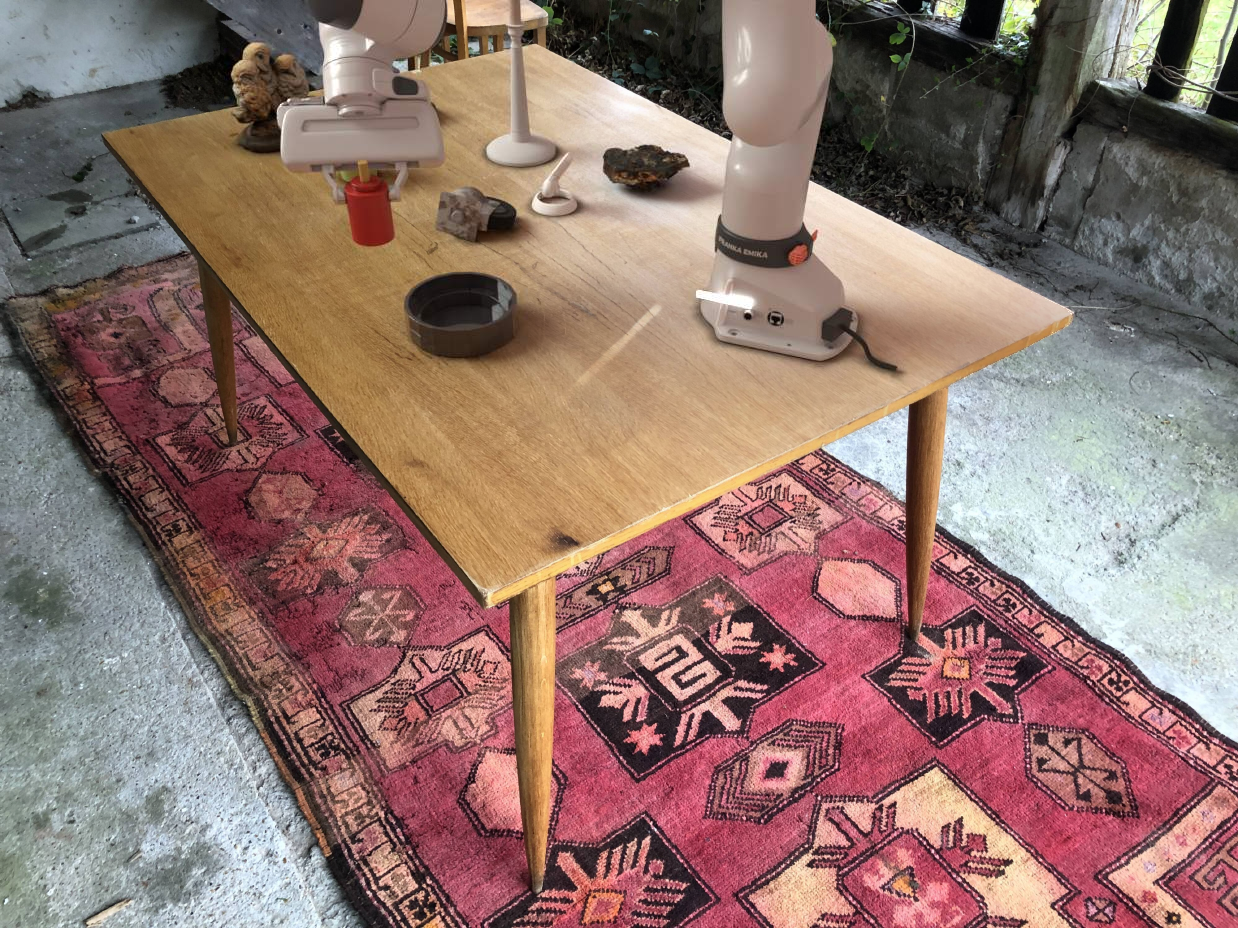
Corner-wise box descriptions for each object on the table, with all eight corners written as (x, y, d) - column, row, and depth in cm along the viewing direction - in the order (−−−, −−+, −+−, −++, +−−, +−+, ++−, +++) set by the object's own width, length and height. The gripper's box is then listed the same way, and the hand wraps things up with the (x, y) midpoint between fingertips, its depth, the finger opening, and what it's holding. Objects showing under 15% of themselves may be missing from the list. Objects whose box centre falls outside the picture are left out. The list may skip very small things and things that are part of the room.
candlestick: (553, 168, 177) (548, -10, 157) (482, 165, 177) (469, -12, 157) (557, 139, 187) (554, -31, 167) (491, 137, 187) (479, -34, 167)
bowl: (539, 321, 139) (538, 290, 135) (475, 374, 129) (472, 343, 125) (453, 291, 144) (450, 261, 141) (385, 340, 134) (380, 309, 131)
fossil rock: (625, 208, 165) (626, 175, 162) (592, 176, 175) (592, 144, 171) (696, 195, 170) (699, 163, 166) (660, 164, 179) (662, 133, 176)
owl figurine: (264, 161, 176) (243, 64, 165) (220, 145, 181) (196, 50, 170) (337, 129, 188) (321, 36, 177) (293, 115, 193) (275, 24, 181)
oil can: (403, 233, 128) (393, 159, 122) (376, 250, 125) (364, 175, 118) (371, 223, 130) (360, 149, 124) (343, 239, 127) (330, 164, 120)
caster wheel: (517, 232, 164) (500, 252, 155) (453, 211, 164) (433, 230, 155) (525, 194, 160) (509, 213, 152) (459, 173, 160) (440, 190, 152)
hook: (592, 196, 157) (556, 170, 155) (556, 237, 166) (522, 214, 164) (604, 168, 162) (570, 142, 159) (569, 210, 171) (536, 186, 168)
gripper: (270, 87, 120) (278, 197, 119) (438, 82, 123) (447, 189, 122) (280, 109, 126) (288, 214, 125) (441, 104, 129) (449, 206, 128)
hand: (368, 202), depth 124 cm, fingers closed on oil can, 5 cm apart
